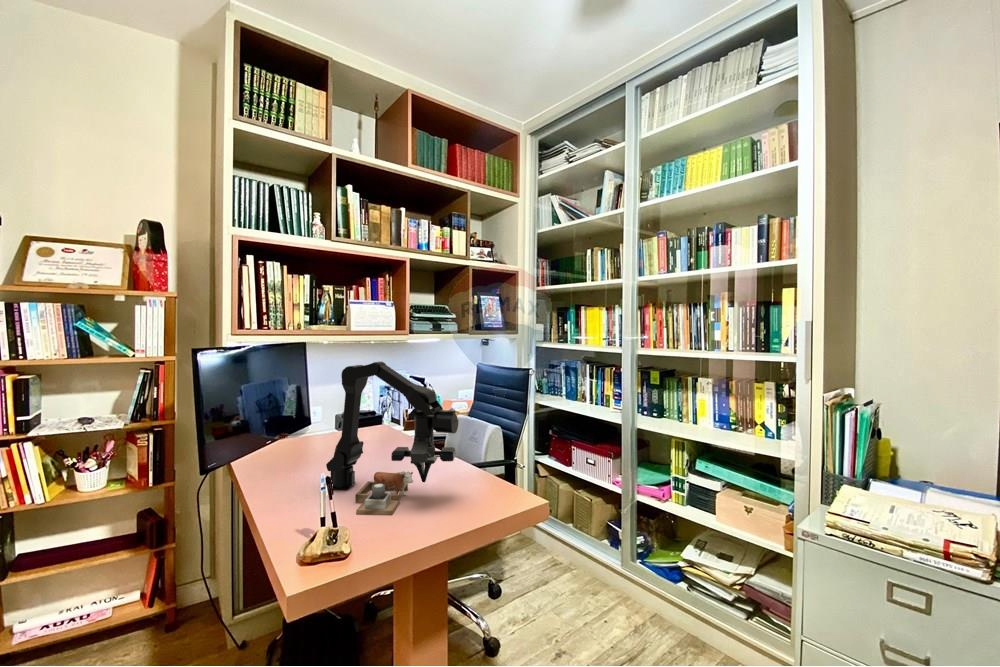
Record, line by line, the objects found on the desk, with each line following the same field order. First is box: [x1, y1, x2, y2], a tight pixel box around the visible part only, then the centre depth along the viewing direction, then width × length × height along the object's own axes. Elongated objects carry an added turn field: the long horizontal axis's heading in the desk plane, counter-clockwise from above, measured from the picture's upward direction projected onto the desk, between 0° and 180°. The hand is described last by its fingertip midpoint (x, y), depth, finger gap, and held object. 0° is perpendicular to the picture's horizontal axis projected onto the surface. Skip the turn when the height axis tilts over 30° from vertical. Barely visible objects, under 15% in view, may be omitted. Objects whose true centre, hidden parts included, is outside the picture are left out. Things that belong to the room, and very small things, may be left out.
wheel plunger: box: [371, 484, 386, 499], centre depth 117 cm, size 4×4×3 cm
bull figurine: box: [373, 471, 414, 497], centre depth 126 cm, size 4×13×8 cm, turn 75°
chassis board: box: [354, 480, 409, 516], centre depth 122 cm, size 13×18×4 cm
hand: (423, 481), depth 125 cm, fingers closed
